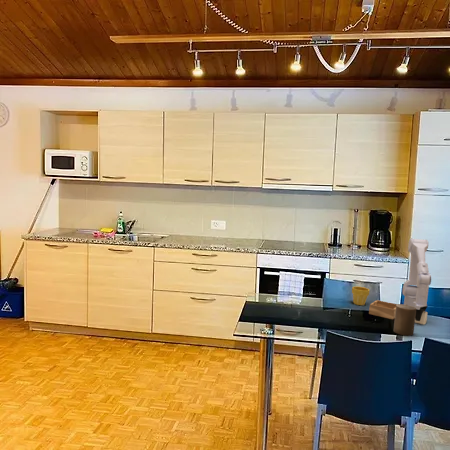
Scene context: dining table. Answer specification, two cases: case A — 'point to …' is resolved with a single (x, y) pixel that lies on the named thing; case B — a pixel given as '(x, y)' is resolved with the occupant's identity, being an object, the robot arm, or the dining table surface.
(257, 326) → the dining table surface
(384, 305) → the big crate
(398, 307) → the pillar candle
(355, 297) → the plant pot
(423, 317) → the small crate
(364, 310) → the dining table surface
